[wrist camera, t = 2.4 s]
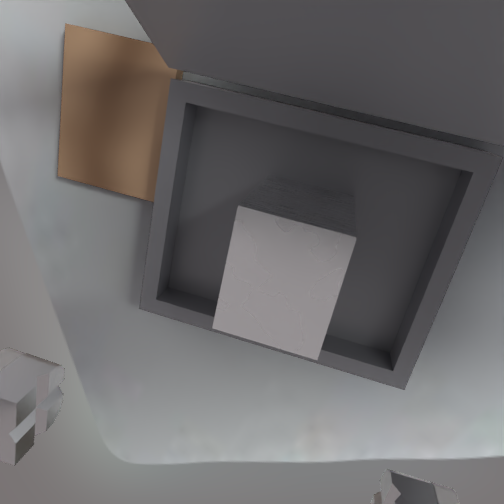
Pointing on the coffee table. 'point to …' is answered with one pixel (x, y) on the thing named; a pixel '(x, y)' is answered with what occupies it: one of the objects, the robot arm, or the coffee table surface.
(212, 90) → the case
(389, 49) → the lid
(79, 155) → the board
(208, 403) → the coffee table surface
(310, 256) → the block
